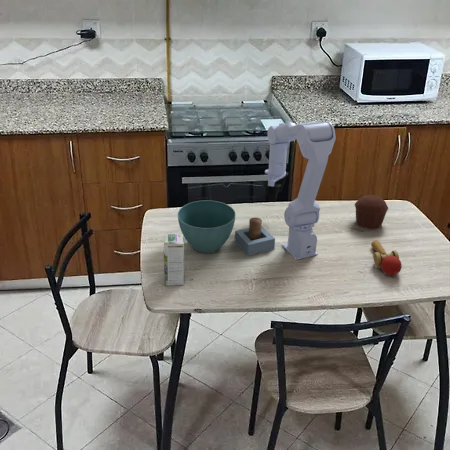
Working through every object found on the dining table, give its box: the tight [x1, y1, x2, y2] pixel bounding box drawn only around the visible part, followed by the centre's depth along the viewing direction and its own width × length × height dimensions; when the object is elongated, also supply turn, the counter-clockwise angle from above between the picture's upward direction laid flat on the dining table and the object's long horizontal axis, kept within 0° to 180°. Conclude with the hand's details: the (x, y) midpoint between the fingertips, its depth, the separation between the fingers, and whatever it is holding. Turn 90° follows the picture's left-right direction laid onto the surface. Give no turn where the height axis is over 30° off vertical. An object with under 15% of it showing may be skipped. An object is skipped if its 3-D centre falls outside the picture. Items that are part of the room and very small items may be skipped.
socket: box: [234, 225, 276, 256], centre depth 188 cm, size 10×10×4 cm
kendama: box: [370, 239, 403, 276], centre depth 181 cm, size 8×6×18 cm
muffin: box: [354, 194, 389, 230], centre depth 201 cm, size 12×11×10 cm
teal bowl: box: [177, 199, 236, 254], centre depth 185 cm, size 18×18×12 cm
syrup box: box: [163, 233, 185, 287], centre depth 168 cm, size 6×6×14 cm
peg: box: [248, 217, 263, 241], centre depth 187 cm, size 4×4×8 cm
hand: (275, 196), depth 199 cm, fingers open, 7 cm apart
